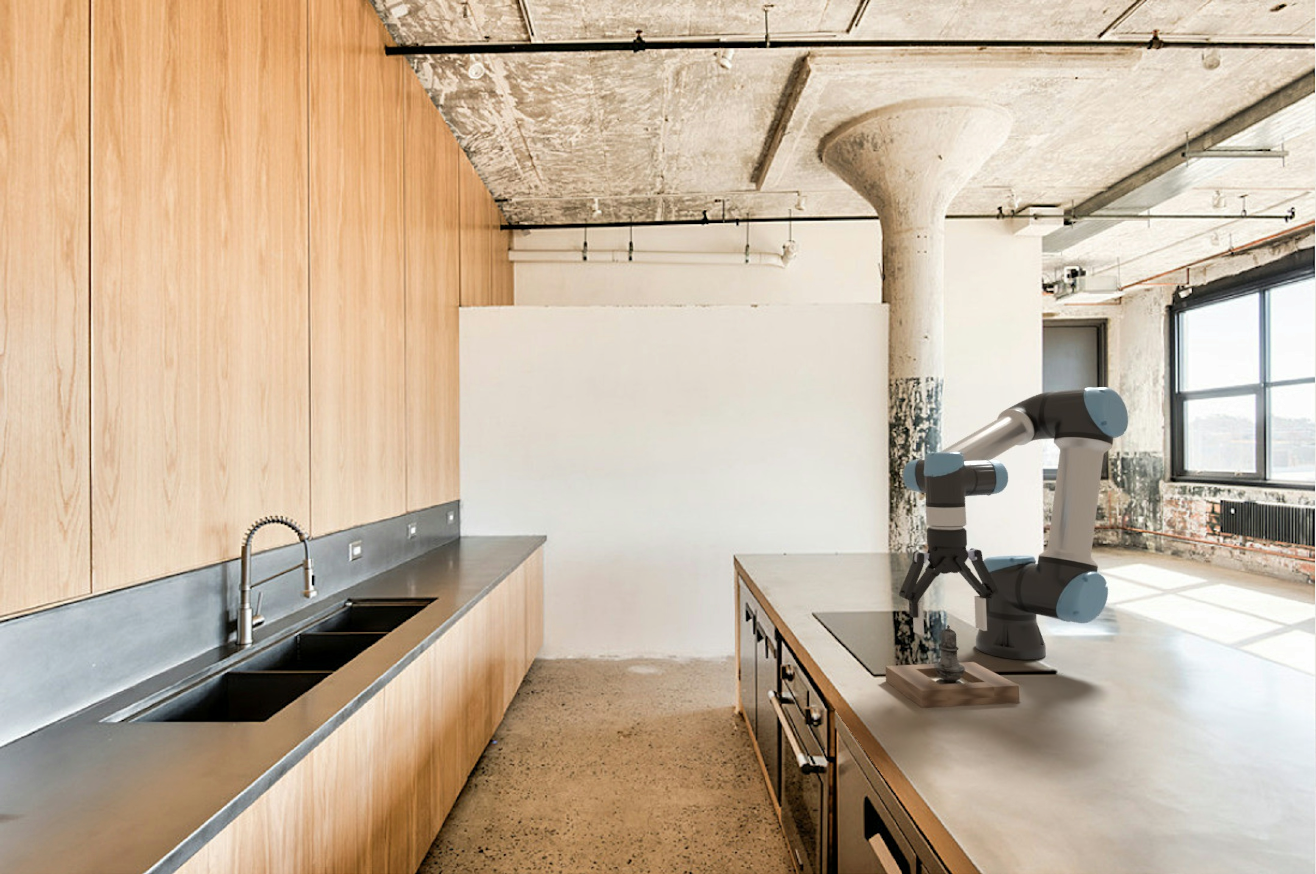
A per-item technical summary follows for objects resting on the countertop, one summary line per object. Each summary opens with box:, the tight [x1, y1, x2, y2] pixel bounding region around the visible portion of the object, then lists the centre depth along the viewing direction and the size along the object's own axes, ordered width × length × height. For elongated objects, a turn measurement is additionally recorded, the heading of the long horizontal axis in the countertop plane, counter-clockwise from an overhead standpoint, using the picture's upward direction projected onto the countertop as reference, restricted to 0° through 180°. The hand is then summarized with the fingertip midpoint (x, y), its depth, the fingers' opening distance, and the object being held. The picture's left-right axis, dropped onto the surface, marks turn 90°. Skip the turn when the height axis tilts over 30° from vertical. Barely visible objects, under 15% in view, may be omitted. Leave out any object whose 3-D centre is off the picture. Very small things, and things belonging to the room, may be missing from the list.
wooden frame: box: [885, 661, 1021, 708], centre depth 134 cm, size 20×15×3 cm
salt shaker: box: [933, 624, 965, 684], centre depth 135 cm, size 6×6×12 cm
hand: (950, 631), depth 135 cm, fingers open, 13 cm apart
